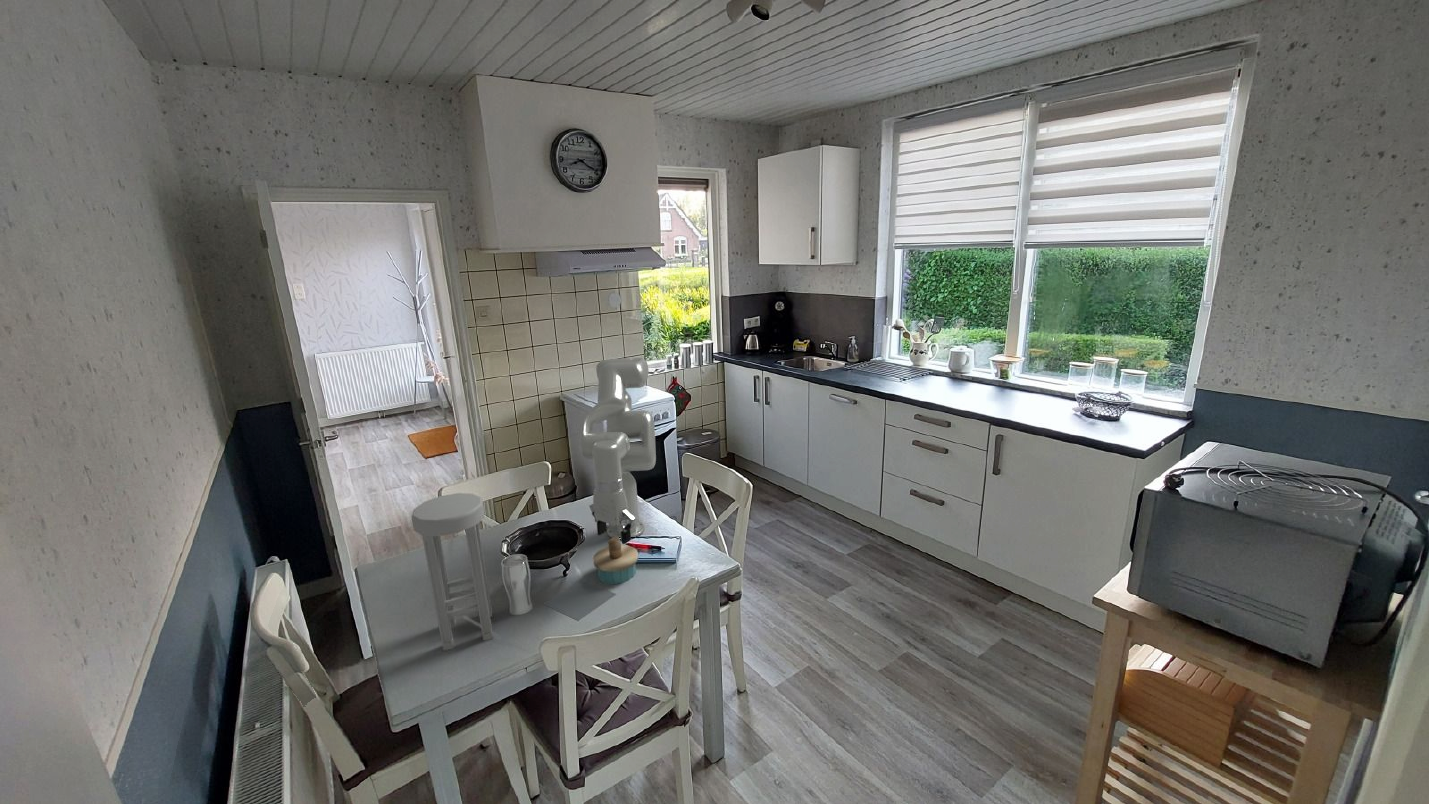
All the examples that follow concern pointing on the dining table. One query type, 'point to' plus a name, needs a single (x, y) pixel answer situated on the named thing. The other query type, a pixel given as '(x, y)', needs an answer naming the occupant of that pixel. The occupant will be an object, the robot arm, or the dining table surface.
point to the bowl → (617, 575)
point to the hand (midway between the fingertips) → (614, 537)
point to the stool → (431, 524)
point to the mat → (579, 599)
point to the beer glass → (517, 583)
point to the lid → (615, 556)
